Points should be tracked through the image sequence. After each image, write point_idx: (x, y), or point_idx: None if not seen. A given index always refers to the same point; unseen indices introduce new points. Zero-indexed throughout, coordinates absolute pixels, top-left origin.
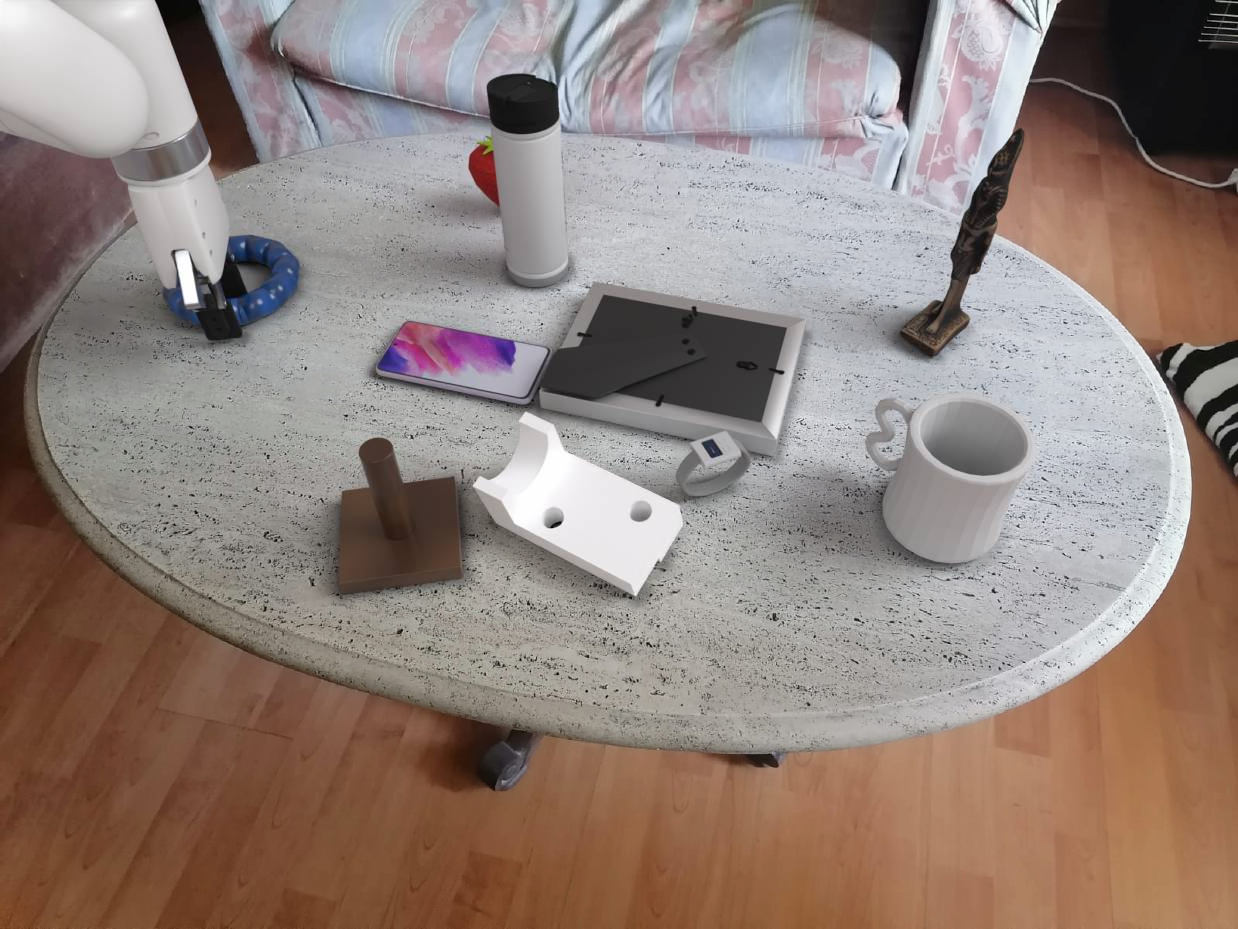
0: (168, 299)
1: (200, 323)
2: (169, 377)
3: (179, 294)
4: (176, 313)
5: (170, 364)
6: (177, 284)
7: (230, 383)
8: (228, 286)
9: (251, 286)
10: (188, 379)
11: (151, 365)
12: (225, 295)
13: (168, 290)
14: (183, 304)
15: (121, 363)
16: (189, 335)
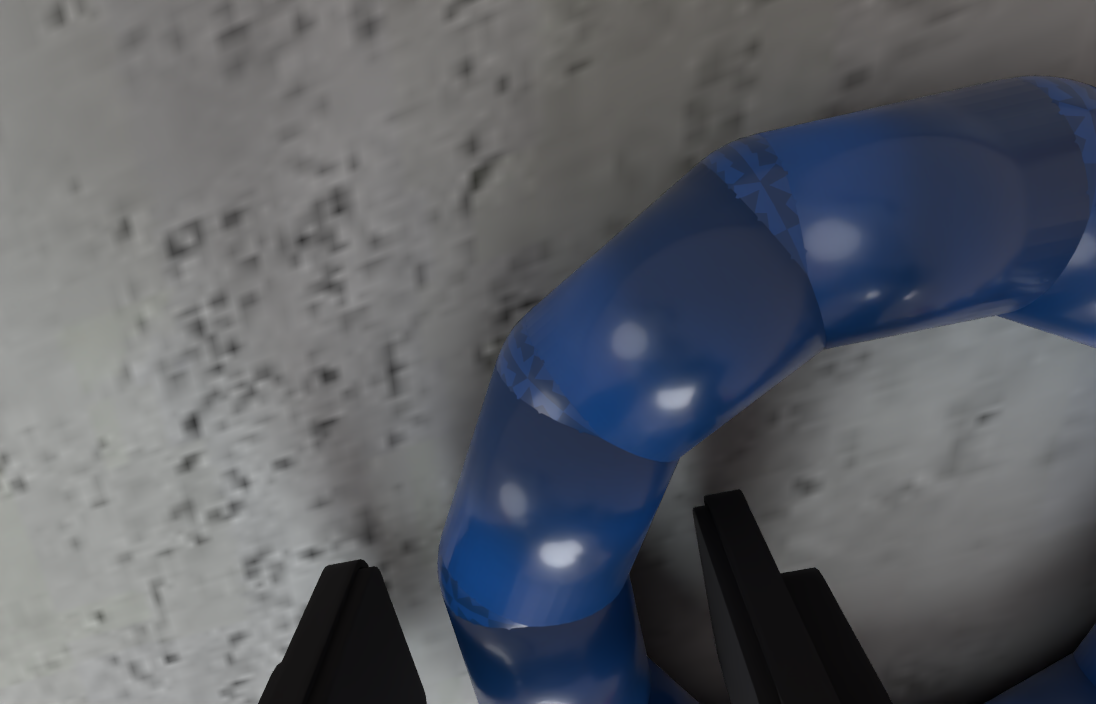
0: (637, 260)
1: (281, 666)
2: (34, 394)
3: (641, 392)
4: (510, 341)
5: (143, 360)
6: (793, 321)
7: (90, 694)
8: (736, 691)
9: (894, 585)
10: (53, 500)
11: (101, 243)
12: (713, 601)
13: (721, 258)
14: (528, 447)
15: (59, 8)
16: (423, 382)
